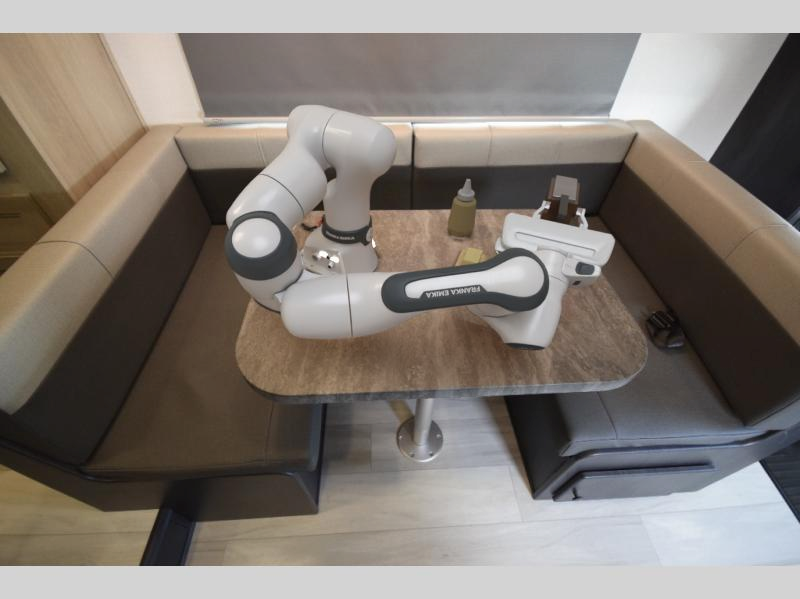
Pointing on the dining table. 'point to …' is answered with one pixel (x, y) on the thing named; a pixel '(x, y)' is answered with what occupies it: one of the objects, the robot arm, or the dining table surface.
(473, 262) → the butter
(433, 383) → the dining table surface
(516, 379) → the dining table surface
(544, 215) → the stand
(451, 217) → the squeeze bottle
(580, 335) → the dining table surface
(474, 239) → the dining table surface
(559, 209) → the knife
